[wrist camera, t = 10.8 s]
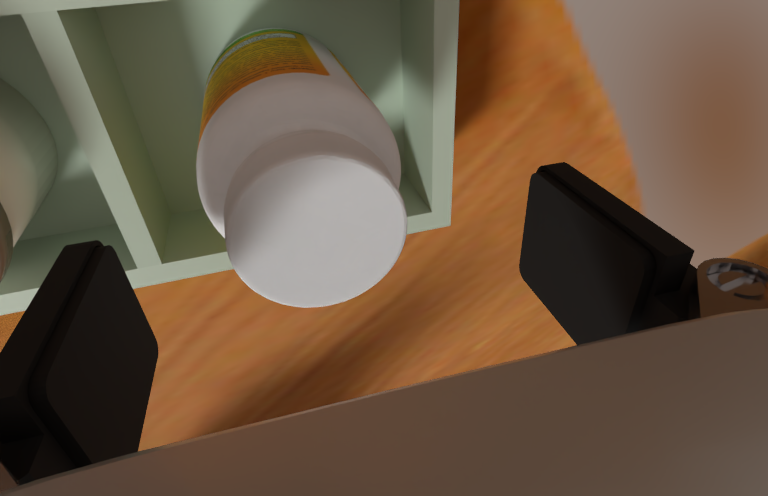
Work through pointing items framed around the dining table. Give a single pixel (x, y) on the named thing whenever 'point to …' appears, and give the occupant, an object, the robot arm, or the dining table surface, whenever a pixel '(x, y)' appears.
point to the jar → (22, 167)
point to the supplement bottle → (298, 171)
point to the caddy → (199, 116)
